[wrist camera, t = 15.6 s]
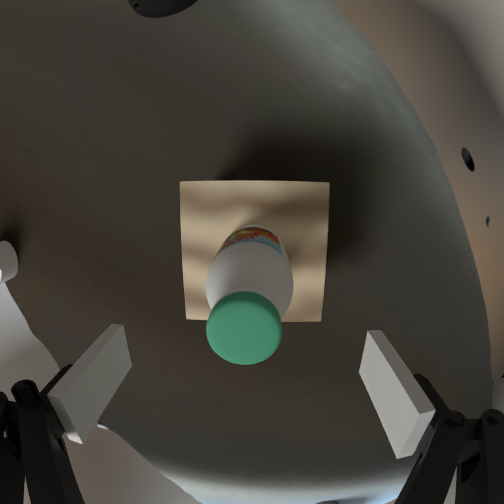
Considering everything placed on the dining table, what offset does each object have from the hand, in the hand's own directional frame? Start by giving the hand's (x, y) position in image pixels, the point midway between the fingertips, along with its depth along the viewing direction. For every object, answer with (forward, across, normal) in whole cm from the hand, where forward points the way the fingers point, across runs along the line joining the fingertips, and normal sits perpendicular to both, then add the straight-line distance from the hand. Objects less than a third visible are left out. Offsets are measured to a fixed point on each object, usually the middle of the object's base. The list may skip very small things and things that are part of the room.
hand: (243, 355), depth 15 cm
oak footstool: (+34, 0, 0) cm, 34 cm away
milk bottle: (+22, 0, 0) cm, 23 cm away
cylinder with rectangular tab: (+35, -58, -5) cm, 68 cm away
